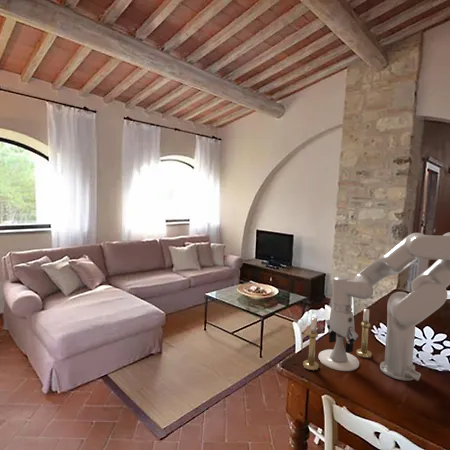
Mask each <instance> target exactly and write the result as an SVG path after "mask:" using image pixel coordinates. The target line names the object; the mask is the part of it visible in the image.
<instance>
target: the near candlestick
mask: <svg viewBox="0 0 450 450" xmlns="http://www.w3.org/2000/svg"><path fill="white" fill-rule="evenodd" d="M310 319H311V320H310V331H308V334H307V335H308V337H309V340H308V341H309V342H308V343H309V344H308V356H307V357H308V358H307V359H306V360H304V361H303V362H302V367H303V366H304V367H303V368H304V369H305V368H306V369H305V370H307V369H308V370H307V371H309V370H313V371H312V372H315V371H314V370H317V371H318V370H319V369H318V368H320V367H319V363H318V362H317V361H315V357H316V356H315V355H316V341H317V338H318V336H319V333H318V332H317V327H318V324H317V323H318V318H317V317H314V316H313V317H311V318H310Z"/></svg>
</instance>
